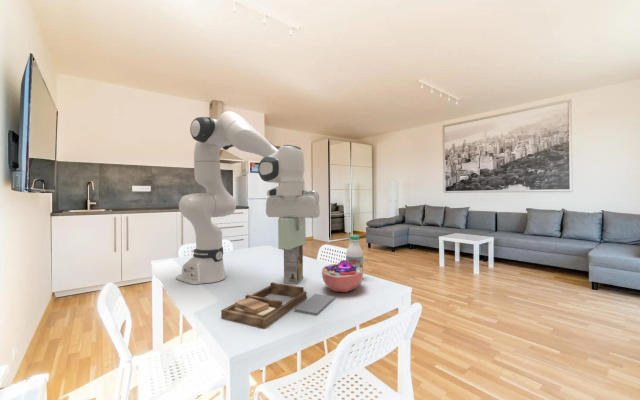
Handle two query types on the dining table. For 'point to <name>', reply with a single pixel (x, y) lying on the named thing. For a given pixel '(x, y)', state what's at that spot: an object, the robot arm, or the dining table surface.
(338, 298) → the dining table surface
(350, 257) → the milk bottle
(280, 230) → the pale green cuboid
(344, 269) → the cell model
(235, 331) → the dining table surface
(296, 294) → the frame
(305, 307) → the slate pad
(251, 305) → the offcut stack
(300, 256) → the coffee box
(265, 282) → the dining table surface
